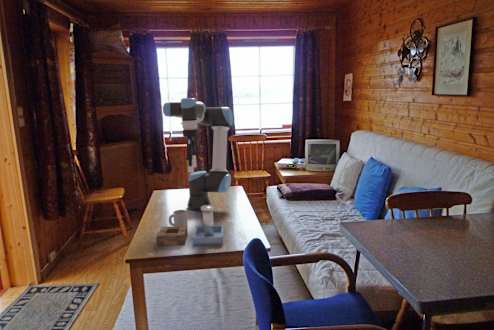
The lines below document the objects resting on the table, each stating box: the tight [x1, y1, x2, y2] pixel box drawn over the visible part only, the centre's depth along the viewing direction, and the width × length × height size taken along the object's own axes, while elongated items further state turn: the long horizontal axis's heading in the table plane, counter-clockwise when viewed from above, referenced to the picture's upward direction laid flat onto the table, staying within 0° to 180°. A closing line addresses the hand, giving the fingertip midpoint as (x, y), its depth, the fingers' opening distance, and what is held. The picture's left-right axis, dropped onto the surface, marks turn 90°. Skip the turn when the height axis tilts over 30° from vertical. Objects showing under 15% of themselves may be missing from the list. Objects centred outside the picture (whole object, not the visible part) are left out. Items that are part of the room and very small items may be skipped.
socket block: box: [156, 225, 189, 247], centre depth 180 cm, size 13×13×5 cm
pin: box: [200, 204, 215, 237], centre depth 179 cm, size 6×6×15 cm
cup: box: [168, 209, 189, 228], centre depth 197 cm, size 7×10×9 cm
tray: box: [192, 224, 225, 247], centre depth 180 cm, size 16×14×4 cm
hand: (192, 169), depth 188 cm, fingers open, 13 cm apart
